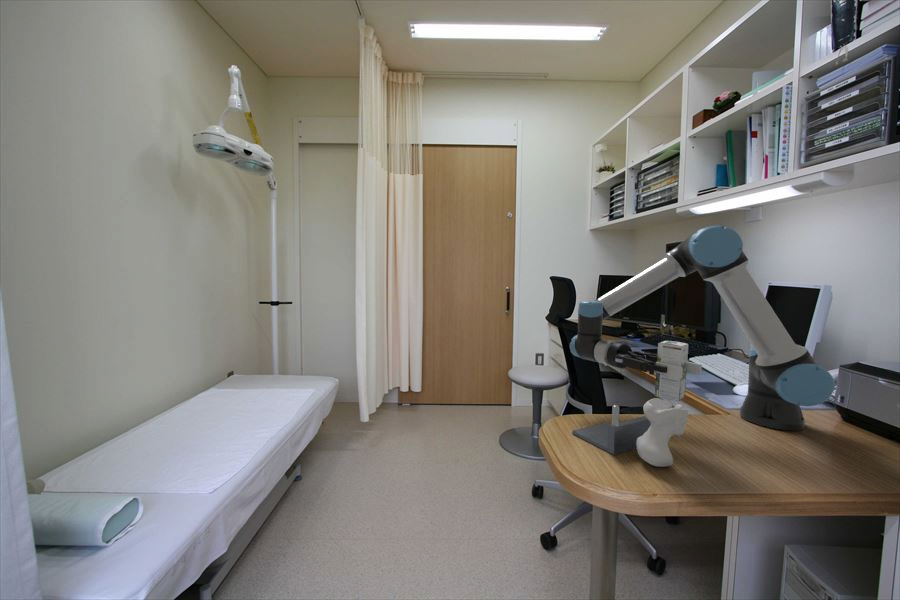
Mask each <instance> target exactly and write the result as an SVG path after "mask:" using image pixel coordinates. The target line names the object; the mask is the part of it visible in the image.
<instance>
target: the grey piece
mask: <svg viewBox="0 0 900 600" xmlns="http://www.w3.org/2000/svg"><path fill="white" fill-rule="evenodd" d="M611 409H612V411H611V423H610V422H608V421H607V422H602V423H599V424H595V425H590V426H586V427H581V428H578V429H573V430H572V433H571V434H572V435H574V436H576V437H578V438H580V439H581V440H583V441H585V442H587V443H589V444H592V445H593V446H595V447H597V448H599V449H601V450H603V451H605V452H607V453H609V454H611V455H612V456H617V455H620V454H623V453H627V452H630V451H632V450H637V445H636V441H637V438H638V437H640V436H642V435H643V434H644V433H645V432H646V431H647V430H648V429H649V427H650V425H651V423H650V421H649V420H648V419H647V418H646V416H645V415H644V416H639V417H635V418H631V419H626V420H622V421H620V405H618V404H613V405H612V408H611Z"/></svg>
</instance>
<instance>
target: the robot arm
mask: <svg viewBox="0 0 900 600" xmlns="http://www.w3.org/2000/svg"><path fill="white" fill-rule="evenodd" d="M743 247H744V244H743V240H742V237H741V235H740V234H739V233H738V232H737V231H736V230H735V229H733V228H731V227H728V226H725V225H710V226H706V227H704V228H701V229H699V230H697V231H696V232H694V233H692V234H691V235H689V236H688V237H686V238H685V239H684V240H683V241H681V242H680V243H679V244H678V245H677V246H675V247H674V248H673V249H671V250H669V251H668V252H666V253H665V256H664V258H662V259H661V260H659V261H657V262H656V263H654V264H652V265H651V266H649V267H647V268H646V269H644V270H643V271H641V272H639V273H638V274H635V276H633V277H631V278H630V279H628V280H626V281H624V282H623V283H621V284H620V285H618V286H616V287H614V288H613V289H612V290H610V291H608V292H606V293H605V294H603V295H602V296H599V298H597V299H595V300H582V301H579V302H578V310H577V313H578V314H577V315H578V317H577V333H576V335H574V336H573V337H572V338H571V341H570V342H569V349H570V353H571V354H572V355H573V356H575V357H578V358H580V359H582V360H587V361H591V362H596V363H600V364H603V366H605V367H607V366H611V367H614V368H617V369H626V368H630V369H632V370H633V369H634V370H636V371H640V372H642V373H648V372H649V373H648V374H649V375H652V376H653V375H655V374H656V373H660V374H664V375H668V376H672V377H676V378H680V379H681V378H682V374H683V367H679V366H674V365H670V364H665V363H661V362H657V354H658V353H656V354H655V353H651V352H648V351H646V352H641V351H638V350H632V348H631V346H630V345H629V344H627V343H623V342H619V341H617V342H616V341H613V340H609V339H602V338H603V336H602V335H603V332H602V331H603V321H605V320H607V319H608V318H610V317H612V316H614V314H616V313H619V312H621V311H622V310H623V309H625V308H627V307H629V306H631V305H632V304H634V303H635V302H637V301H639V300H641V299H643V298H644V297H646V296H648V295H649V294H652V293H653V292H655V291H656V290H658V289H660V288H662V287H663V286H665V285H667V284H670V282H672V281H674V280H676V279H678V278H679V277H681V278H682V277H683V278H685V277H687V276H689V275H690V274H693V273H694V272H697V273H699V275H700V277H701V278H702V280H703V281H706V282H710V283H712V284H713V286H714V287H715V289H716V290H717V293H718V294H719V296H720V297H721V299H722V300H723V301H724V303H725V305H726V307H727V308H728V309H729V311H730V313H731V314H732V316H733V318H734V320H735V321H736V322H737V324H738V325H739V327H740V329H741V330H742V332H743V333H744V335H745V337H746V339H747V340H748V342H749V343H750V345H751V346H752V348H751V349H750V351H749V356H748V380H747V381H748V383H747V393H746V396H745V398H744V400H743V402H742V404H741V406H740V408H739V416H740V415H741V416H742V417H743V418H744V419H746V420H748V421H747V422H749V421H751V422H753V423H752V424H754V423H756V424H755V425H757V424H759V425H758V426H761V425H762V426H761V427H764V426H766V427H765V428H769V427H770V429H774V428H775V429H774V430H780V429H781V431H789V430H791V431H792V432H793V431H795V432H796V431H798V432H799V431H803V430H805V426H806V420H805V417H804V415H803V411H802V409H801V407H813V406H817V405H820V404H823V403H825V402H826V401H828V399H830V398H831V396H832V395H833V393H834V392H835V387H836V383H835V379H834V377H833V376H832V375H831V373H830V372H829V371H828V370H827V369H826V368H824V367H823V366H821V365H818V364H817V362H816V361H815V360H814V357H813V356H812V354H811V353H810V352H809V350H808V349H807V347H805V346H802V345H801V344H797V343H795V341H794V340H793V338H792V336H791V335H790V334H789V332H788V331H787V329H786V327H785V326H784V324H783V323H782V321H781V320H780V318H779V317H778V315H777V313H775V310H774V309H773V307H772V305H770V303H769V302H768V300H767V299H766V297H765V295H764V293H763V292H762V291H761V289H760V288H759V286H758V284H757V283H756V281H755V280H754V278H753V277H752V275H751V274H750V272H749V271H748V269H747V266H748V263H749V261H750V260H749V258H748V257H747V256H746V254H745V252H744V250H743ZM702 366H703V365H702V364H701V363H696V362H690V361H687V373H686V374H692V375H697V376H701V375H702ZM743 418H742V419H743ZM744 419H743V420H744ZM746 420H745V421H746ZM751 422H750V423H751Z"/></svg>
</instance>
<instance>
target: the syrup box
mask: <svg viewBox="0 0 900 600" xmlns="http://www.w3.org/2000/svg"><path fill="white" fill-rule="evenodd" d="M656 354H657V362H661V363H665V364H670V365H674V366H679V367H683V374H682V378H681V379H680V378H676V377H672V376H668V375H664V374H660V373H656V372H655V383H654V384H655V387H654V397H655V398H659V399H664V400H669V401H675V402H680V401H681V400H683V399H684V398H685V397H686V383H687V374H688V373H687V362H688V358H689V357H688V354H689V343H686V342H680V341H675V340H674V341H672V340H664V341H661V342H658V343H657V353H656Z"/></svg>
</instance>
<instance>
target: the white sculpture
mask: <svg viewBox="0 0 900 600" xmlns="http://www.w3.org/2000/svg"><path fill="white" fill-rule="evenodd" d="M673 405H674V404H673V402H671V400H669V399H663V398H660V397H655V398H651V399H649V400H648V401H647V400H646V402H645V403H644V405H643V407H642V409H643V414H644V416H646V418H647V419H648V420H649V421H650V423H651V425H650V427H649V429H648V430H647V431H646V432H645V433H644V434H643V435H642V436H640V437H638V438H637V441H636V445H637V448H636V451H637V454H638V456H639V457H640V458H641V459H642V460H643V461H645V462H646V463H647V464H649V465H651V466H653V467H663V468H664V467H671V466H672V465H673V464H674V457H673V454H672V452H671V450H670V448H669V441H670V439H671V437H673V436H682V435H683V434H684V433H685V430H686V425H687V424H688V421H689V420H688V415H689V410H688V409H686V408H685V406H684V405H683V404H680V403H677V404H675V406H674V407H673Z"/></svg>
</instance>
